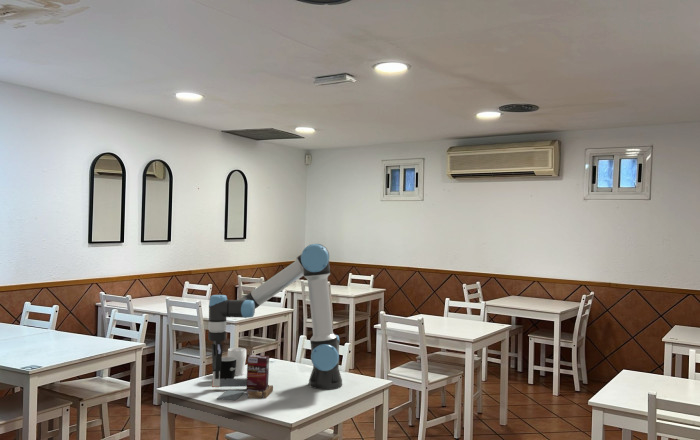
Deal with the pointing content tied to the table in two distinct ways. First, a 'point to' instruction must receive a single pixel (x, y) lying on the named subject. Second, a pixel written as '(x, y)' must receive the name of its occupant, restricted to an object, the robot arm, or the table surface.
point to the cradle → (259, 394)
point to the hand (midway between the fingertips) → (216, 385)
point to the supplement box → (257, 373)
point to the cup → (238, 359)
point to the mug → (228, 368)
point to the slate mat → (231, 395)
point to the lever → (232, 382)
